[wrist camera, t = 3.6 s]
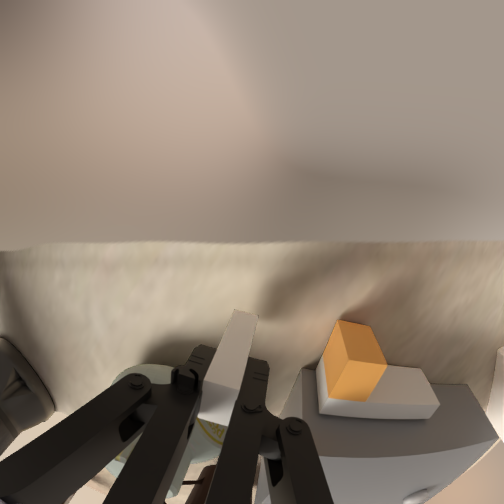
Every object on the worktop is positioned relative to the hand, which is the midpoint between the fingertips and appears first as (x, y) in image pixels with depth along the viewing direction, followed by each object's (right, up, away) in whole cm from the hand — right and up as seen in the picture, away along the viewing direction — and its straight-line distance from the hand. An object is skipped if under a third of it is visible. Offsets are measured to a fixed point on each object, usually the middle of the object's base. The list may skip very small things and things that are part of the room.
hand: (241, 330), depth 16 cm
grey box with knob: (+12, -12, +4) cm, 17 cm away
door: (+10, -3, +1) cm, 11 cm away
